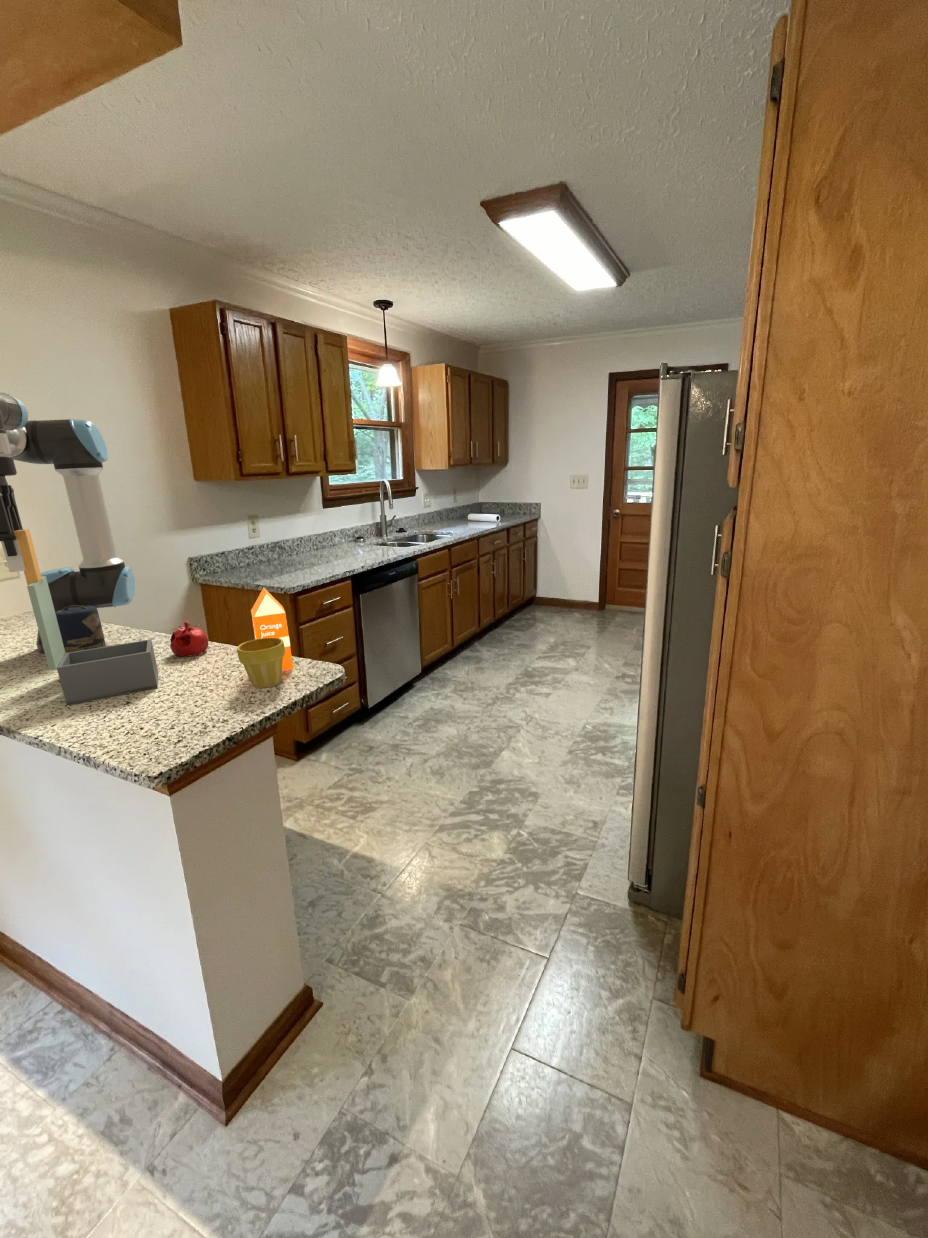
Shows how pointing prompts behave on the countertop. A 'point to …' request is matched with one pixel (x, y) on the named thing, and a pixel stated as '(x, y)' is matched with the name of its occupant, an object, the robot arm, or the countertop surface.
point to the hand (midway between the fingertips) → (20, 569)
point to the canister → (80, 628)
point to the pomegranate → (188, 641)
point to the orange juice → (271, 623)
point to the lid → (41, 602)
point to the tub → (108, 671)
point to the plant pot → (262, 660)
